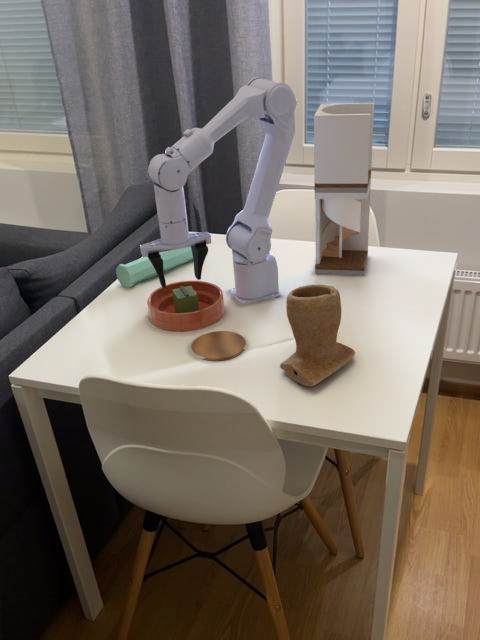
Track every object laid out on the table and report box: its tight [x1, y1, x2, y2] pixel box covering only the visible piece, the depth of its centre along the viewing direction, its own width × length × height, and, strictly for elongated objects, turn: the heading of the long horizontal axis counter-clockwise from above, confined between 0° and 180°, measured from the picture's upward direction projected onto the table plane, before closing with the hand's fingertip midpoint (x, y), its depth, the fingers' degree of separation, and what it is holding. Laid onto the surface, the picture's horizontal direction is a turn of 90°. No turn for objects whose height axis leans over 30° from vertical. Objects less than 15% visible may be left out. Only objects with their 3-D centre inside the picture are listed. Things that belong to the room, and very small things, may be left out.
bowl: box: [146, 280, 225, 332], centre depth 150 cm, size 16×16×4 cm
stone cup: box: [279, 284, 356, 387], centre depth 126 cm, size 15×12×15 cm
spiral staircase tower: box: [313, 102, 375, 277], centre depth 156 cm, size 11×11×35 cm
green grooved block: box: [172, 286, 199, 313], centre depth 149 cm, size 4×5×5 cm
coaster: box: [190, 330, 247, 362], centre depth 139 cm, size 11×11×1 cm
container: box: [115, 246, 193, 288], centre depth 170 cm, size 6×6×25 cm
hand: (180, 281), depth 146 cm, fingers open, 7 cm apart
